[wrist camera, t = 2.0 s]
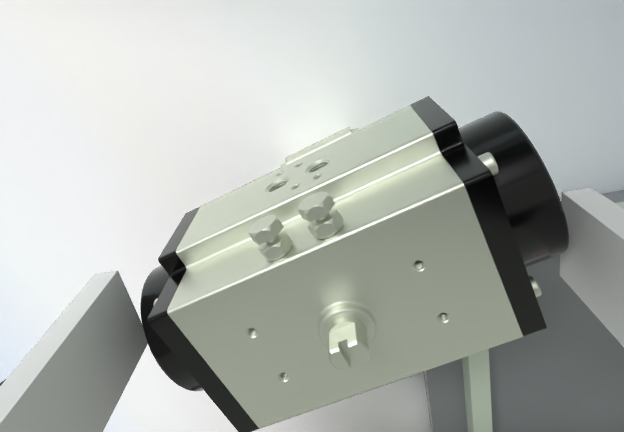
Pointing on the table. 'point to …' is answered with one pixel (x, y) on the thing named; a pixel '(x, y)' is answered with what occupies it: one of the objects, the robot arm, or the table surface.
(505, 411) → the docking tray
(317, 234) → the pneumatic valve
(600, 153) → the table surface
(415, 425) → the table surface
